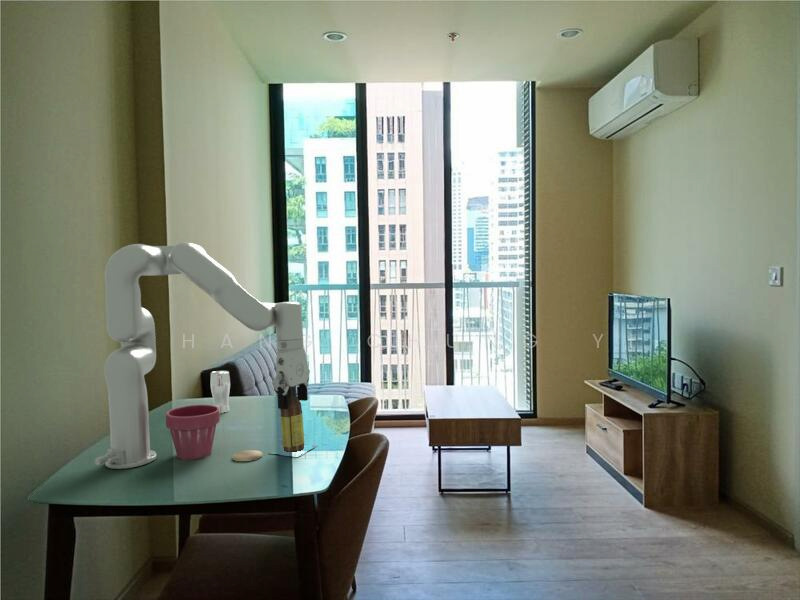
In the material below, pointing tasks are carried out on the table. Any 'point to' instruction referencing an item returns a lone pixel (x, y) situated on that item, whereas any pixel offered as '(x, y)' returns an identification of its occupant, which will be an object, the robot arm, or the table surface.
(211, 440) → the plant pot
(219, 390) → the beer glass
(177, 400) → the table surface
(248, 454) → the coaster
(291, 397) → the sauce bottle
